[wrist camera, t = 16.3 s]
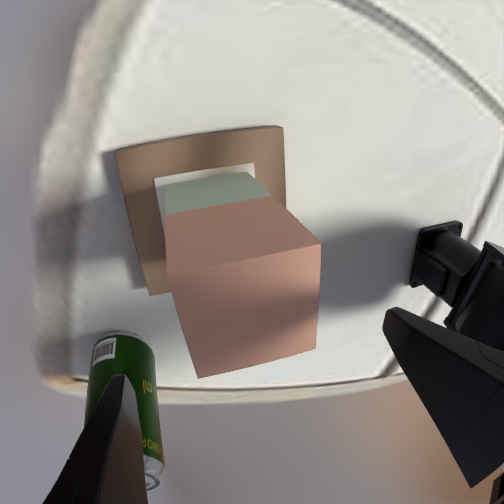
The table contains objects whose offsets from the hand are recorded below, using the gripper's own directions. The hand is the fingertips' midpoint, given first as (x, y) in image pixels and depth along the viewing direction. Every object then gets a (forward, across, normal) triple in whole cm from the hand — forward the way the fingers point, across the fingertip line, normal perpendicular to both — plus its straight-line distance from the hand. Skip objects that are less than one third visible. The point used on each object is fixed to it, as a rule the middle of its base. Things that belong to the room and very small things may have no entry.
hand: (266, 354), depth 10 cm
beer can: (+13, +9, +11) cm, 19 cm away
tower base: (+13, 0, 0) cm, 13 cm away
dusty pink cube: (+7, 0, 0) cm, 7 cm away
